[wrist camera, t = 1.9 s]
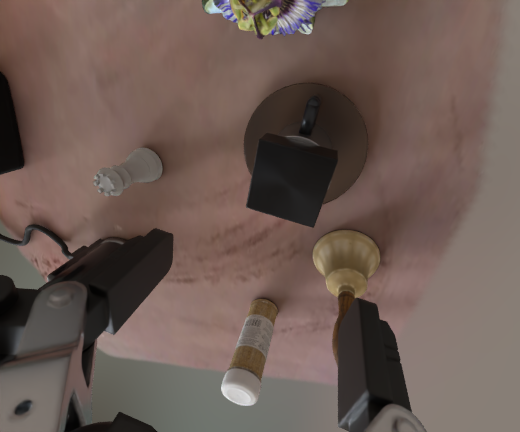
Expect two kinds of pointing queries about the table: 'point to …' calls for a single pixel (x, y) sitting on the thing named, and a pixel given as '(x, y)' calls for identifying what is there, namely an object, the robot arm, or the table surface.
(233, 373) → the sprinkles bottle
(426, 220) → the table surface
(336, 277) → the hand bell
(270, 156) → the black-lidded handled container
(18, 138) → the film camera
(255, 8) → the passion flower
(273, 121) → the disc
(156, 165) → the rook chess piece
